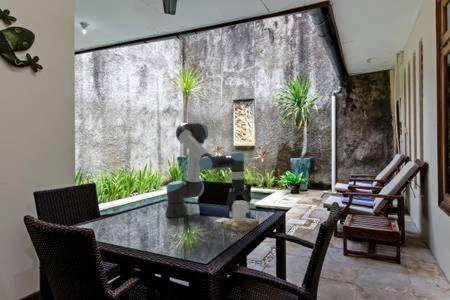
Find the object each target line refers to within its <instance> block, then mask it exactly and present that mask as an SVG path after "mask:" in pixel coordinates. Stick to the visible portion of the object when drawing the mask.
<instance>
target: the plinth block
mask: <svg viewBox="0 0 450 300" xmlns="http://www.w3.org/2000/svg"><path fill="white" fill-rule="evenodd" d="M228 219H229V220H225V221H222V222H220V228H223V229H228V230H232V231H236V232H239V233H242V232H244V231H245V232H246V231H248V230H251V229H254V228H257V227H259V226H260V220H259V219H253V218H248V217H245V221H243V222H236V221H235V220H234V218H232V217H231V218H228ZM258 225H259V226H258ZM253 227H254V228H253Z"/></svg>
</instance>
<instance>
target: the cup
mask: <svg viewBox="0 0 450 300" xmlns="http://www.w3.org/2000/svg"><path fill="white" fill-rule="evenodd" d="M247 203H248V202H247V201H245V200H235V201H234V203H233V205H232V206H233V209H234V220H235V221H236V222H243V221H245V218H246V215H247V213H246V208H247Z"/></svg>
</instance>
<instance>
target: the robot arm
mask: <svg viewBox="0 0 450 300" xmlns="http://www.w3.org/2000/svg"><path fill="white" fill-rule="evenodd" d="M175 136H176V138H177V140H178V142H180V143H181V144H182V145H184V146H185V147H186V148H187V149H188V150H189V152H188V162H187V163H188V165H187V176H186V177H185V178H184V179H185V180H184V181H183V180H174V181H171V182H169V183H168V184H167V185H166V199H167V204H166V210H165V214H164V215H165V218H169V217H170V219H171V218H172V219H175V218H176V217H177V218H183V217H186V216H188V210H187V207H186V204H185V200H186V199H191V198H199V197H200V196H202V195H203V193H204V190H205V186H204V182H203V181H202V179H201V178H200V177H201V176H200V174H201V173H200V172H201V170H202V171H210V170H221V169H230V170H231V185H232V187H230V188H228V194H227V198H226V200H225V206H228V212H229V213H228V214H229V218H231V219H232V218H234V209H233V206H232V205H233V203H234V201H236V198H237V197H238V196H240V195H241V196H242V198H243V199H244V201H247V202H248V203H247V208H246V214H249V213H250V202H252V196H251V194H250V191H249V187H248V185H246V183H245V182H246V179H245V157H244V156H245V155H244V152H241V151H239V152H238V151H237V152H236V151H235V152H231V153H230V155H225V154H224V155H223V154H222V155H217V156H214V155H212V154H211V153H210V152H208V151H207V150H206V149H205V147H204V146H203V145H204V143H205V140H207V139H208V138H209V130H208V126H207V125H206V124H205V123H202V122H201V123H200V122H183V123H181V124H179V125H178V126H177V127H176V129H175ZM177 218H176V219H177Z"/></svg>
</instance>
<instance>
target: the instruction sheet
mask: <svg viewBox="0 0 450 300" xmlns="http://www.w3.org/2000/svg"><path fill="white" fill-rule="evenodd" d="M229 219H230V218H226V217H221V218H219V219H216V220H214V222H215V223H216V222H217V223H221V222H222V221H225V220H229Z"/></svg>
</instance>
